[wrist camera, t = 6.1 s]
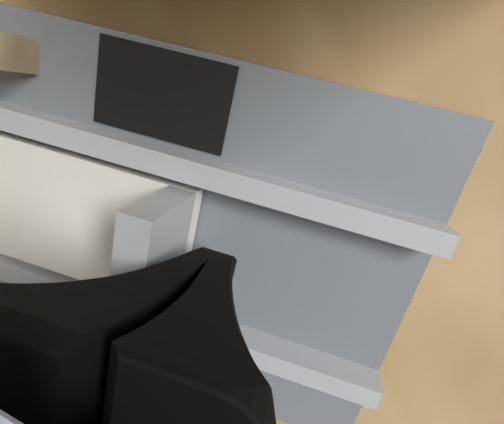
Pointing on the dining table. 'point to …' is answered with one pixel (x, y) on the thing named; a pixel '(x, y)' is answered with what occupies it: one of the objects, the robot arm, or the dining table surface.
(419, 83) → the dining table surface
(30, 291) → the robot arm
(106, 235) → the sled
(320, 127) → the track
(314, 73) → the dining table surface
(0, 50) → the tunnel
